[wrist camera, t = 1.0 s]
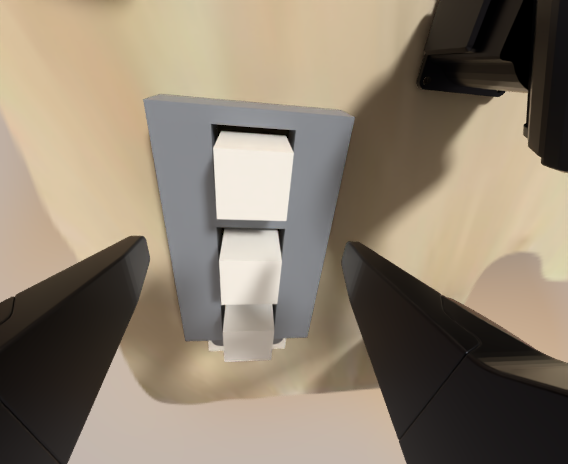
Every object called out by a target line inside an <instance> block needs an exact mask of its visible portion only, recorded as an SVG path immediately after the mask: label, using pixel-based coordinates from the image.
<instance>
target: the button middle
mask: <svg viewBox="0 0 568 464" xmlns="http://www.w3.org/2000/svg"><path fill="white" fill-rule="evenodd" d="M281 266H282V258H281V251H280V244H279V238H278V231H277V229H267V228H226V227H225V229H224V235H223V241H222V246H221V252H220V258H219V269H220V288H221V305H242V304H277V302H278V293H279V284H280V275H281Z"/></svg>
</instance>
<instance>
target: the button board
mask: <svg viewBox="0 0 568 464" xmlns="http://www.w3.org/2000/svg"><path fill="white" fill-rule="evenodd" d="M143 101H144V106H145V112H146V118H147V124H148V129H149V135H150V141H151V147H152V152H153V158H154V164H155V169H156V175H157V181H158V187H159V192H160V198H161V204H162V210H163V215H164V221H165V227H166V233H167V238H168V244H169V250H170V255H171V261H172V267H173V273H174V278H175V284H176V290H177V296H178V301H179V307H180V313H181V318H182V324H183V330H184V336H185V341H211V340H223V326H224V317H225V305H221V288H220V269H219V258H220V252H221V246H222V227H230V228H271V229H280V231H279V244H280V251H281V258H282V266H281V275H280V284H279V293H278V302H277V304H272V307H273V319H274V338H304V337H307V336H308V332H309V327H310V322H311V318H312V313H313V309H314V304H315V299H316V295H317V290H318V286H319V281H320V276H321V272H322V267H323V263H324V258H325V253H326V249H327V244H328V239H329V235H330V230H331V226H332V221H333V216H334V212H335V207H336V203H337V198H338V193H339V189H340V184H341V180H342V175H343V170H344V166H345V161H346V157H347V152H348V147H349V143H350V138H351V134H352V129H353V124H354V120H355V117H354V116H352V115H350V114H348V113H346V112H344V111H342V110H335V109H324V108H313V107H301V106H290V105H279V104H267V103H256V102H244V101H233V100H222V99H210V98H199V97H188V96H176V95H165V94H158V95H155V96H152V97H149V98H146V99H143ZM217 124H219V125H232V126H245V127H259V128H272V129H285V130H289V137H288V142H289V144H290V146H291V148H292V150H293V152H294V156H293V166H292V175H291V184H290V193H289V202H288V211H287V220H286V221H266V220H230V219H217V211H216V192H215V173H214V153H213V147H214V145H215V143H216V141H217V139H218V132H217Z"/></svg>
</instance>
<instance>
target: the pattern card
mask: <svg viewBox="0 0 568 464" xmlns="http://www.w3.org/2000/svg"><path fill="white" fill-rule="evenodd" d="M285 344H286V338H274V339H273V348H272V349H283V348H285ZM208 346H209V351H224V345H223V340H211V341H208Z"/></svg>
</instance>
